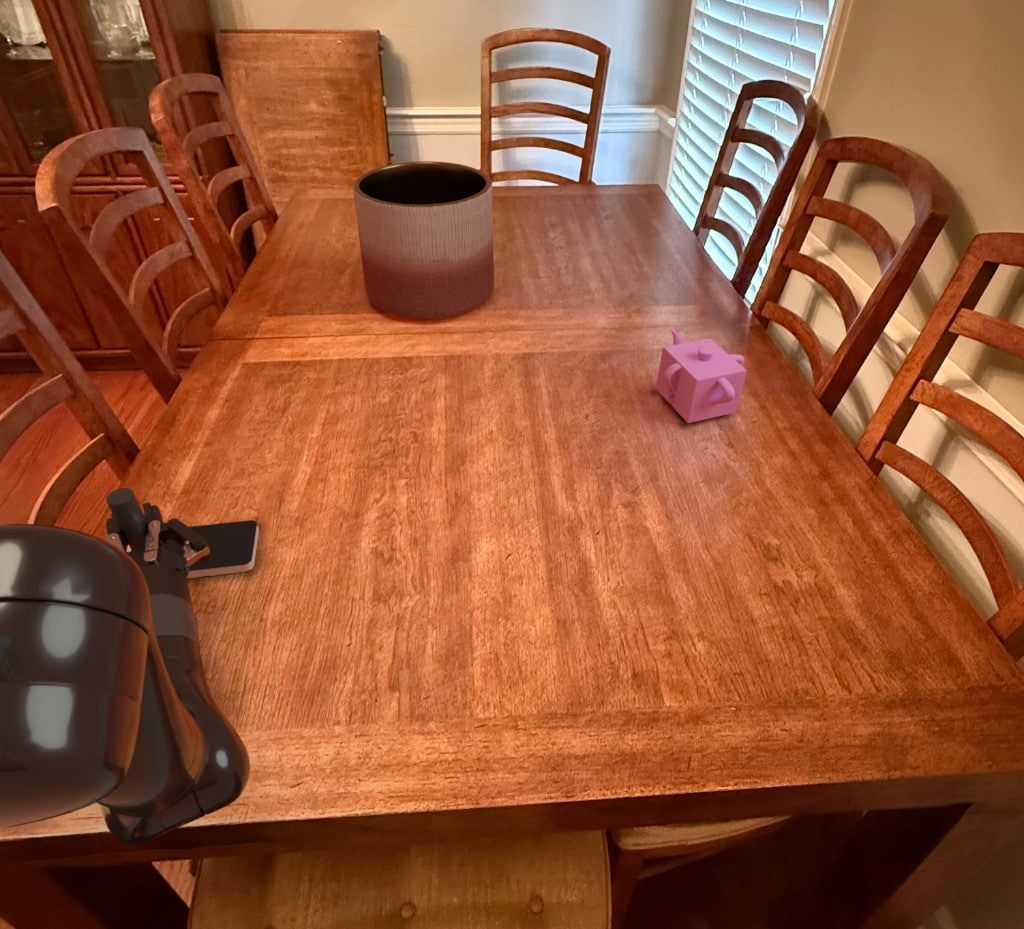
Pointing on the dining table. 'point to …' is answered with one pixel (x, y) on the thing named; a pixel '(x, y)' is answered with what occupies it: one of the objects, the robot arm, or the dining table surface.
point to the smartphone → (223, 548)
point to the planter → (426, 238)
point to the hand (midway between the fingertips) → (133, 513)
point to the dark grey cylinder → (129, 517)
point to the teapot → (700, 378)
